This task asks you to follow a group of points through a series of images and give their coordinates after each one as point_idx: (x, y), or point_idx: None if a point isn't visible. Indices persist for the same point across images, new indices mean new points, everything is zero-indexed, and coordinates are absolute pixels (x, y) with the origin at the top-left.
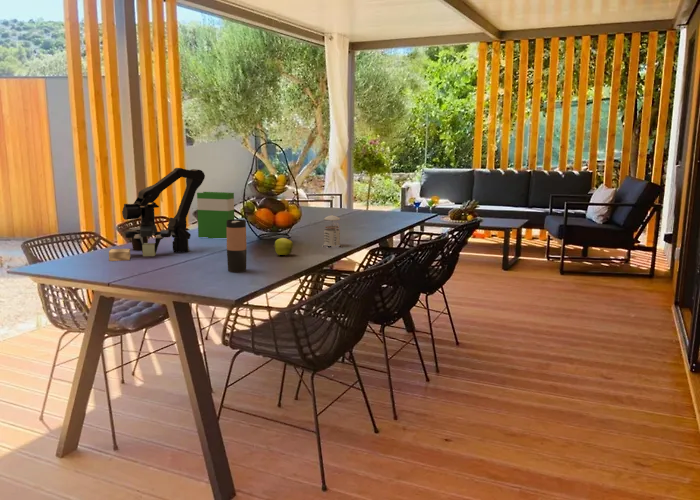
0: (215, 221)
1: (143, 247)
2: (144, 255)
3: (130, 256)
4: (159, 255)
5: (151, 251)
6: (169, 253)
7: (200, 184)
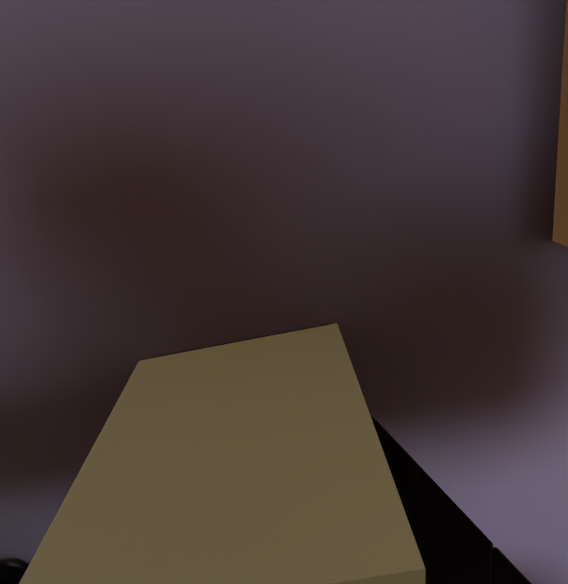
0: None
1: (357, 480)
2: (309, 336)
3: (561, 239)
4: (90, 411)
5: (163, 417)
6: (46, 529)
7: None
